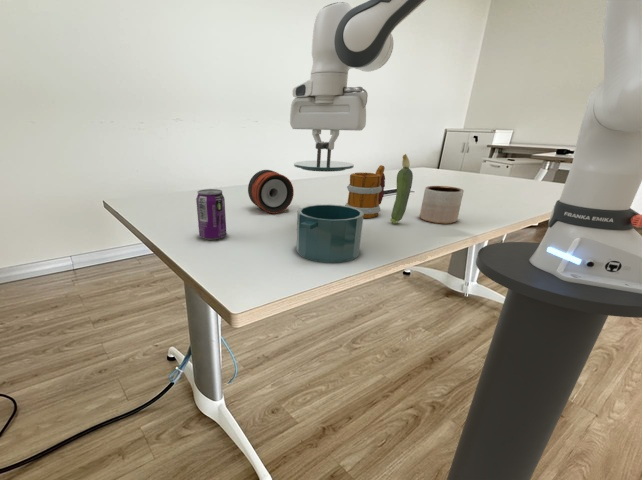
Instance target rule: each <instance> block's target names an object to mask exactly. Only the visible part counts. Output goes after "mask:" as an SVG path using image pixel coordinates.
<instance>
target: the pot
mask: <svg viewBox="0 0 642 480" xmlns="http://www.w3.org/2000/svg"><path fill="white" fill-rule="evenodd" d="M296 215H297V216H296V242H295V243H296V246H295V249H296V253H297V254H298V255H299V256H300V257H302V258H304V259H306V260H310V261H313V262H318V263H326V264H327V263H328V264H331V263H332V264H335V263H336V264H337V263H346V262H349V261H354V260H355V259H357V258H358V257H359V255H360V249H361V241H362V234H363V233H362V232H363V231H362V230H363V224H364V223H363V222H364V218H363V216H364V213H363V212H362V211H361V210H359V209H356V208H353V207H348V206H345V205H341V204H311V205H306V206H303V207H300V208H299V209H298V210H297V214H296Z"/></svg>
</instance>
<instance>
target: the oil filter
mask: <svg viewBox="0 0 642 480" xmlns="http://www.w3.org/2000/svg"><path fill="white" fill-rule="evenodd" d="M247 194H248V196H249V199H250V201H251V202H252V203H253V204H254V205H255V206H256V207H257V208H260V209H261V210H264V211H265V212H267V213H269V214H279V213H282V212H284V211H286V210H287V208H288V207H289V206H290V205H291V204H292V202H293V199H294V185H293V183H292V181H291V180H290V179H289V177H287V176H285V175H284V174H281V173H279V172H277V171H274V170H270V169H261V170H259V171H257V172H256V173H254V174H253V176H252V177H251V178H250V179H249V182H248V185H247Z"/></svg>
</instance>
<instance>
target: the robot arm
mask: <svg viewBox="0 0 642 480" xmlns="http://www.w3.org/2000/svg"><path fill="white" fill-rule="evenodd" d="M426 1H427V0H367V1H366V2H363V3H361V4H358V5H356V6H355V7H352V6H351V4H349V3H348V2H344V1H340V2H333V3H330V4H327V5H325V6H323V7H322V8H321V9H320V10H319V11H317V14H316V16H315V19H314V24H313V29H312V30H313V31H312V38H311V39H312V42H311V57H312V66H311V69H310V79H308V80H306V81H304V82H303V83H300V84H299V85H297V86H295V87H293V88H292V97H293V98H294V99H293V100H292V102H291V104H290V113H289V125H290V127H291V129H292V130H311V131H312V132H311V135H312V137H313V140H314V142H315V145H316V144H317V143H320V142H323V141H322V138H321V134H322V131H330V133H329V135H330V136H331V137H330V138H329V141H325V142H326V149H325V150H327V151H328V150H331V151H332V150H334V149H335V143H336V141H337V140H338V138H339V136H340V131H356V132H357V131H358V132H359V131H363V130H364V128H365V127H366V125H367V103H368V92H367V90H366V89H365V88H363V86H355V87H352V86H349V87H348V77H349V70H351V69H355V70H359V71H362V72H368V73H369V72H374V71H377V70H379V69H381V68H382V67H384V65H385V64H387V62H388V61H389V60H390V59H391V58H390V57H391V56H392V53H393V50H394V37H393V35H392V32H393V31H394V30H395V29H396V27H398V26H399V25H400V24H401V23H402V22H403V21H404V20H406V19H407V18H408V17H409V16H410V15H411V14H412V13H413V12H415V11H416V10H417V9H419V7H420V6H421V5H423V3H425V2H426ZM605 3H606V4H605V11H604V18H603V27H602V33H601V36H602V37H601V38H602V44H603V67H604V68H603V79H602V81H601V82H599V83H598V84H597V85H596V86H595V87H594V89H593V90H592V91H591V93H590V94H589V96H588V99H587V102H586V105H585V109H584V113H583V116H582V120H581V124H580V127H579V132H578V135H577V139H576V140H577V141H576V144H575V150H574V154H573V158H572V162H571V166H570V169H569V171H568V174H567V176H566V180H565V182H564V186H563V188H562V192H561V193H560V197H559V199H558V200H556V202H555V204H554V205H553V208H552V211H551V214H550V216H549V218H548V224H547V225H548V227H547V230H546V231H545V234H544V236H543V237H542V240H541V241H540V242H539V243H540V245H539V247H538V248H537V250H536V251H535V253H534V254H533V255H532V257H531V258H530V259H529V261H530V263H531V264H532V265H534V266H535V267H537V268H539V269H541V270H544V271H546V272H548V273H551V274H553V275H555V276H556V277H558V278H559V279H561V280H564V281H568V282H573V283H580V284H586V285H592V286H598V287H604V288H610V289H616V290H622V291H629V292H635V293H641V294H642V234H640V233H639V232H638V231H637V230H636V229H635V228H642V214H641V213H639V212H638V211H636V210H634V209H632V208H631V207H632V205H633V202H634V200H635V198H636V196H637V194H638V191H639V189H640V187H641V184H642V0H606V2H605ZM315 149H316V150H318V149H317V148H316V146H315Z"/></svg>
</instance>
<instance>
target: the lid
mask: <svg viewBox="0 0 642 480" xmlns="http://www.w3.org/2000/svg"><path fill="white" fill-rule="evenodd" d="M326 142H327V141H322V142H320V143H317V144H316V143H315V147H316V148H317V149H316V148H315V149H316V151H317V154H316V160H302V161H296V162H293V167H294V168H298V169H301V170H303V171H310V172H326V173H327V172H343V171H345V170H349V169H350V170H351V169H353V168H354V166H355V164H354V163H352V162H347V161H337V160H331V158H332V156H331V155H332V150H327V149H326ZM322 150H327V153H326V154H327V155H326V160H321V159H322V157H321V156H322Z"/></svg>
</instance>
